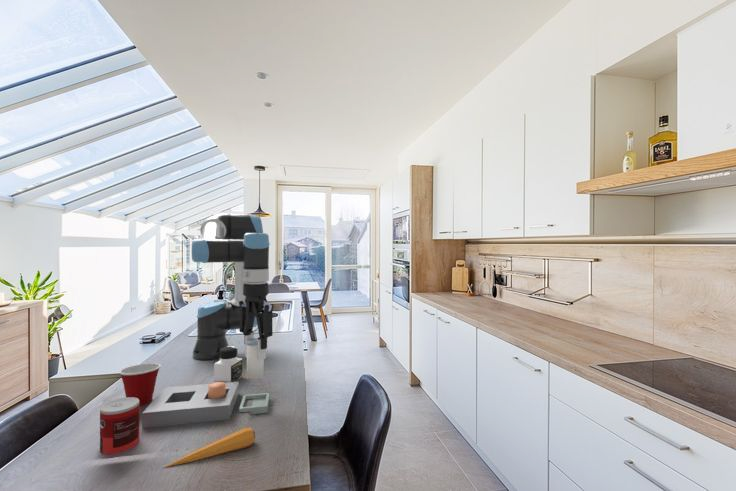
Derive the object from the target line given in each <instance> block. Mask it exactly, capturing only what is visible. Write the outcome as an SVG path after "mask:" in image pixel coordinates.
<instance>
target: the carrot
mask: <svg viewBox="0 0 736 491" xmlns="http://www.w3.org/2000/svg"><path fill="white" fill-rule="evenodd" d="M255 440H256V434H255V430H253V428H252V427H244V428H242V429H240V430H238V431H235V432H233V433H231V434H228V435H227V436H224V437H223V438H221V439H219V440H216V441H214V442H212V443H210V444H208V445H205V446H203V447H202V448H199V449H197V450H195V451H192V452H190V453H189V454H186V455H185V456H182V457H181V458H179V459H177V460H175V461H173V462H172V463H169V464H167V465H165V466H164V467H163V469H164V468H168V467H173V466H178V465H182V464H187V463H191V462H195V461H199V460H204V459H206V458H210V457H215V456H218V455H222V454H226V453H229V452H233V451H237V450H241V449H245V448H248V447H251V446H252V445H253V444H254V442H255Z"/></svg>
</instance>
